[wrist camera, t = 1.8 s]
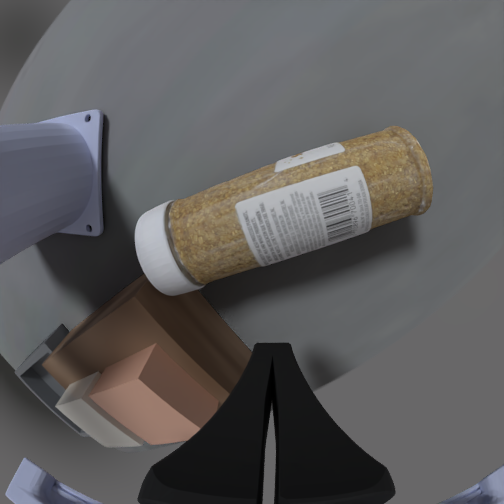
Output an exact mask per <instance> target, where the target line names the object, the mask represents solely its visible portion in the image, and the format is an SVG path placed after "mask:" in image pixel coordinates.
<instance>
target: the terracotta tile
mask: <svg viewBox="0 0 504 504" xmlns="http://www.w3.org/2000/svg"><path fill="white" fill-rule="evenodd" d="M88 397H90V398H91V399H92V400H93V401H94V402H95V403H96V404H98V405H99V406H100V407H101V408H102V409H103V410H105V411H106V412H107V413H108V414H110V415H111V416H112V417H113V418H115V419H116V420H117V421H118V422H120V423H121V424H122V425H124V426H125V427H126V428H128V429H129V430H130V431H132V432H133V433H135V434H136V435H137V436H139V437H140V438H142V439H143V440H145V441H146V442H148V443H149V444H151V445H156V444H166V443H174V442H181V441H188V440H189V439H190V438H191V437H192V436H193V435H195V434H196V433H197V432H198V431H199V430H200V429H201V428H202V427H203V426H204V425H205V424H206V423H207V422H208V421H209V420H210V418H211V417H212V416H213V415H214V414H215V413H216V412H217V408H218V402H219V401H218V400H217V399H216V398H215V397H214V396H212V395H211V394H210V393H209V392H208V391H206V390H205V389H204V388H203V387H202V386H201V385H200V384H199V383H197V382H196V381H195V380H194V379H193V378H192V377H191V376H190V375H189V374H188V373H186V372H185V371H184V370H183V369H182V368H181V367H180V366H179V365H178V364H177V363H176V362H175V361H174V360H173V359H172V358H171V357H170V356H169V355H168V354H167V353H166V352H165V351H164V350H163V349H162V348H161V347H160V346H159V345H158V344H157V343H155V344H153V345H151V346H149V347H147V348H145V349H143V350H141V351H139V352H137V353H135V354H133V355H131V356H129V357H127V358H125V359H123V360H121V361H119V362H117V363H115V364H113V365H111V366H109V367H106V368H105V370H104V371H103V373H102V374H101V376H100V378H99V379H98V381H97V382H96V384H95V386H94V387H93V389H92V391H91V392H90V394H89V395H88Z"/></svg>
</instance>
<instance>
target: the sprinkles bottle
mask: <svg viewBox="0 0 504 504" xmlns="http://www.w3.org/2000/svg"><path fill="white" fill-rule="evenodd" d="M432 194H433V183H432V176H431V170H430V166H429V163H428V160H427V157H426V155H425V153H424V151H423V150H422V148H421V146H420V144H419V143H418V141H417V140H416V138H415V137H413V136H412V134H411V133H410V132H408V131H407V130H405V129H403V128H401V127H397V126H390V127H388V128H386V129H385V130H384V131H380V132H376V133H372V134H369V135H366V136H362V137H358V138H354V139H351V140H347V141H343V142H340V143H331V144H328V145H325V146H322V147H318V148H315V149H312V150H309V151H305V152H303V153H300V154H297V155H293V156H290V157H287V158H284V159H282V160H279V161H277V162H276V163H273V164H270V165H267V166H264V167H262V168H259V169H257V170H255V171H252V172H250V173H247V174H245V175H242V176H239V177H237V178H234V179H232V180H230V181H226V182H223V183H221V184H219V185H215V186H214V187H211V188H209V189H207V190H204V191H202V192H199V193H197V194H195V195H192V196H190V197H187V198H186V199H178V200H176V201H173V200H172V201H168V202H166V203H163V204H161V205H159V206H157V207H155V208H153V209H151V210H149V211H147V212H145V213H144V214H143V215H142V216H141V217H140V218H139V220H138V222H137V225H136V229H135V247H136V252H137V256H138V260H139V262H140V265H141V267H142V269H143V271H144V273H145V275H146V277H147V278H148V280H149V281H150V282H151V283H152V285H153V286H154V287H155V288H156V289H158V290H159V291H160V292H162V293H163V294H166V295H170V296H175V295H180V294H184V293H187V292H191V291H194V290H197V289H201V288H202V287H204V286H205V285H206V284H207V283H209V282H212V281H214V280H218V279H220V278H225V277H227V276H231V275H234V274H236V273H241V272H243V271H247V270H250V269H253V268H256V267H260V266H267V265H270V264H273V263H276V262H280V261H283V260H286V259H289V258H292V257H295V256H298V255H301V254H304V253H307V252H310V251H313V250H316V249H320V248H323V247H326V246H329V245H332V244H334V243H337V242H340V241H343V240H346V239H349V238H352V237H355V236H358V235H361V234H363V233H366V232H368V231H369V230H370V229H372V228H376V227H378V226H381V225H384V224H387V223H390V222H392V221H396V220H399V219H401V218H404V217H407V216H410V215H421V214H423V213H425V212H426V211H427V210H428V208H429V207H430V205H431V202H432Z"/></svg>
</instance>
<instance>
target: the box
mask: <svg viewBox="0 0 504 504" xmlns="http://www.w3.org/2000/svg"><path fill="white" fill-rule="evenodd" d="M68 334H69V331H68V330H67V329H66V328H65V326H64V325H63V324H61V325H60V326H59V327H58V328H57V329H56V330H55V331H54V332H53V333H52V334H51V335H50V336H49V337H48V338H47V339H45V340H44V341H43V342H42V343H41V344H40V345H39V346H38V347H37V348H36V349H35V350H34V351H33V352H32V353H31V354H30V355H29V356H28V357H27V358H26V359H25V361H24V362H23V363H22V364H21V365H20V366H19V368H18V369H17V370H16V371H15V374H16V375H17V376H18V377H19V378H20V379H21V380H22V382H23V383H24V384H25V385H26V386H27V387H28V388H29V389H30V390H31V391H32V392H33V393H34V394H35V395H36V396H37V397H38V398H39V399H40V400H41V401H42V402H43V403H44V404H45V405H46V406H47V407H48V408H49V409H50V410H51V411H52V412H53V413H54V414H56V415H57V416H58V417H59V418H60V419H61V420H62V421H64V422H65V423H66V424H67V425H68V426H69V427H71V428H72V429H73V430H75V431H76V432H77V433H78V434H79V435H81V436H82V437H86V436H90V435H88V434H87V433H86V432H85V431H83V430H82V429H81V428H80V427H78V426H77V425H76V424H75V423H73V422H72V421H71V420H70V419H69V418H68V417H66V416H65V415H64V414H63V413H62V412H61V411H60V410H59V409H57V408H56V407H55V406H56V404H57V403H58V401H59V400H60V398H61V397H62V395H63V394H64V392H65V391H66V390H65V389H64V388H63V387H62V386H61V385H60V384H59V383H58V382H57V381H56V380H55V379H54V378H53V377H52V375H51V374H50V373H49V372H48V371H47V370H46V369H45V368H44V367H43V366H42V364H43V363H44V361H45V360H46V359H47V358H48V357H49V355H50V354H51V353H52V352H53V351H54V350H55V348H56V347H57V346H58V345H59V344H60V343H61V341H62V340H63V339H64V338H65V337H66V336H67V335H68Z"/></svg>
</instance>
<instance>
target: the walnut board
mask: <svg viewBox="0 0 504 504" xmlns="http://www.w3.org/2000/svg"><path fill="white" fill-rule="evenodd" d="M155 343H157V344H158V345H159V346H160V347H161V348H162V349H163V350H164V351H165V352H166V353H167V354H168V355H169V356H170V357H171V358H172V359H173V360H174V361H175V362H176V363H177V364H178V365H179V366H180V367H181V368H182V369H183V370H184V371H185V372H186V373H188V374H189V375H190V376H191V377H192V378H193V379H194V380H195V381H196V382H197V383H199V384H200V385H201V386H202V387H203V388H204V389H205V390H206V391H208V392H209V393H210V394H211V395H212V396H214V397H215V398H216V399H217V400H218V401H219V402H218V408H217V410H218V409H219V408H220V407H221V405H222V404H223V403H224V402H225V400H226V399H227V397H228V396H229V395H230V393H231V391H232V390H233V388H234V387H235V385H236V384H237V382H238V381H239V379H240V377H241V375H242V373H243V372H244V370H245V368H246V366H247V364H248V362H249V359H250V357H251V355H252V352H251V351H250V350H249V349H248V347H247V346H246V345H245V344H244V343H243V342H242V341H241V340H240V339H239V337H238V336H237V335H236V334H235V333H234V332H233V331H232V330H231V328H230V327H229V326H228V325H227V324H226V323H225V321H224V320H223V319H222V318H221V317H220V316H219V315H218V313H217V312H216V311H215V310H214V309H213V307H212V306H211V305H210V304H209V303H208V302H207V300H206V299H205V298H204V297H203V296H202V294H201V293H200V292H199V291H198V289H197V290H194V291H191V292H187V293H184V294H180V295H175V296H170V295H166V294H163V293H162V292H160V291H159V290H158V289H156V288H155V287H154V286H153V285H152V283H151V282H150V281H149V280H148V278H147V277H146V275H145V273H144V274H143V275H142V276H140V277H139V278H138V279H136V280H135V281H134V282H132V283H131V284H130V285H128V286H127V287H126V288H124V289H123V290H122V291H120V292H119V293H118V294H117V295H115V296H114V297H113V298H111V299H110V300H109V301H107V302H106V303H105V304H104V305H102V306H101V307H100V308H99V309H97V310H96V311H95V312H93V313H92V314H91V315H90V316H88V317H87V318H86V319H85V320H83V321H82V322H81V323H80V324H79V325H77V326H76V327H75V328H74V329H72V330H71V331H70V332H69V334H68V335H67V336H66V337H65V338H64V339H63V340H62V341H61V343H60V344H59V345H58V346H57V347H56V348H55V350H54V351H53V352H52V353H51V354H50V355H49V357H48V358H47V359H46V360H45V361H44V363H43V364H42V366H43V367H44V368H45V369H46V370H47V371H48V372H49V373H50V374H51V375H52V377H53V378H54V379H55V380H56V381H57V382H58V383H59V384H60V385H61V386H62V387H63V388H64V389H65V390H66V389H67V388H68V386H69V385H70V384H72V383H74V382H76V381H79V380H81V379H83V378H85V377H87V376H90V375H92V374H94V373H96V372H99V373H101V374H102V373H103V371H104V370H105V368H106V367H109V366H111V365H113V364H115V363H117V362H119V361H121V360H123V359H125V358H127V357H129V356H131V355H133V354H135V353H137V352H139V351H141V350H143V349H145V348H147V347H149V346H151V345H153V344H155Z"/></svg>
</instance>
